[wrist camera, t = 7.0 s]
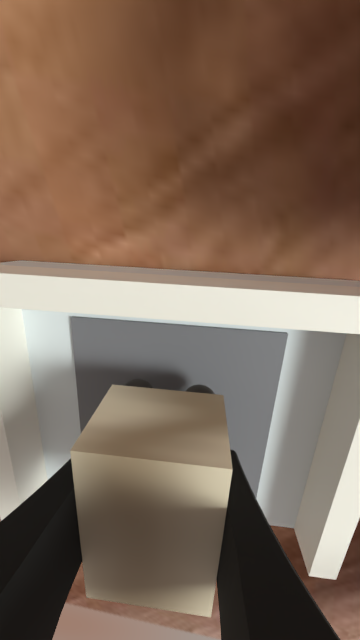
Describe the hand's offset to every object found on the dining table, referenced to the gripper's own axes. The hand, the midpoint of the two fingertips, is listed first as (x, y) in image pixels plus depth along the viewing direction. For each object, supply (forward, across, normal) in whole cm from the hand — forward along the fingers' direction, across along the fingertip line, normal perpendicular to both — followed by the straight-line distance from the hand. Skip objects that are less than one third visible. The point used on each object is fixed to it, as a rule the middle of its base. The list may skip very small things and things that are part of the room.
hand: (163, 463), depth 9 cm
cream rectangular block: (+2, 0, 0) cm, 2 cm away
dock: (+5, 0, 0) cm, 5 cm away
